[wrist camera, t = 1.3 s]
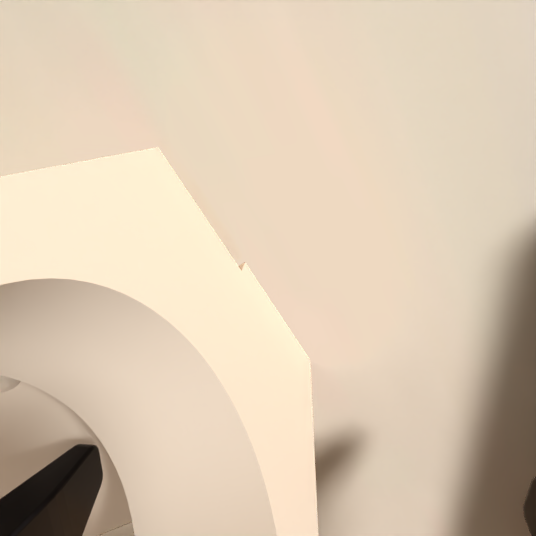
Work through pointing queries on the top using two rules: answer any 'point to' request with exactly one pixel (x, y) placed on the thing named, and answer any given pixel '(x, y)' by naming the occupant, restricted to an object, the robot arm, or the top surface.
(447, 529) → the top surface
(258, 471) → the bracket
